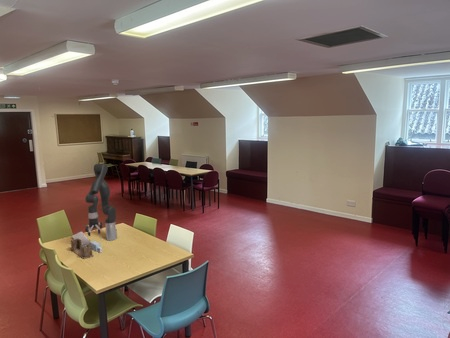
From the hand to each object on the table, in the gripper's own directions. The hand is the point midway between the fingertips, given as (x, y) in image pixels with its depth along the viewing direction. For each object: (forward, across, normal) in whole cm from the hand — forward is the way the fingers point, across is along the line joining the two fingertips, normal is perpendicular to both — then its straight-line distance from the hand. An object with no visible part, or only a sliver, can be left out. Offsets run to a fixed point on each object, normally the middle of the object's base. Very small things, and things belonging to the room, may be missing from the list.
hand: (94, 234), depth 287 cm
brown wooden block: (+14, +12, -1) cm, 18 cm away
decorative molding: (+14, 0, -31) cm, 34 cm away
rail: (+14, 0, 0) cm, 14 cm away
